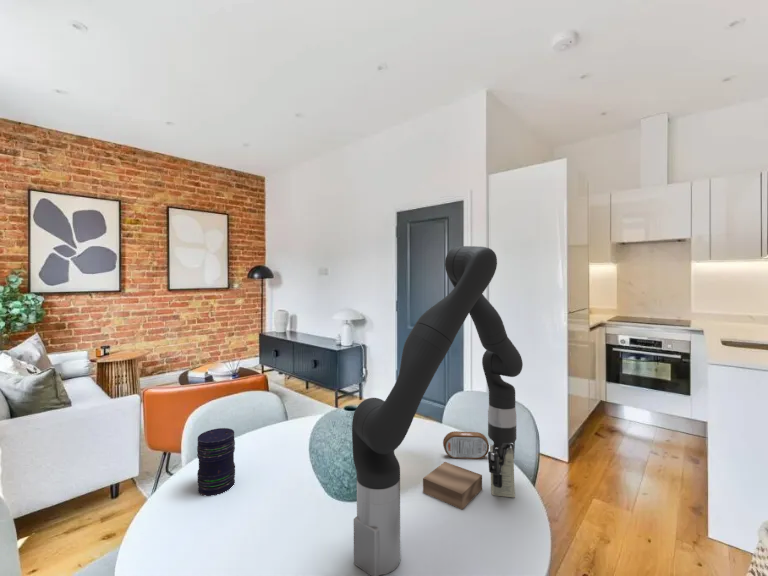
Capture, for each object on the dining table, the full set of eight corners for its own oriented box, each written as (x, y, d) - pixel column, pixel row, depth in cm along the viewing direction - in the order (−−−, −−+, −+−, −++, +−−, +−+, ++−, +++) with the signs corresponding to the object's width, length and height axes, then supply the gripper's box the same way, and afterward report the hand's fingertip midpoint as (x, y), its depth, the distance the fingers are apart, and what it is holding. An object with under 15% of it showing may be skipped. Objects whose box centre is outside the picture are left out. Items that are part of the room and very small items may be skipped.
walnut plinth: (462, 509, 92) (462, 494, 92) (423, 492, 100) (423, 478, 100) (482, 489, 101) (482, 474, 101) (444, 474, 109) (444, 461, 109)
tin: (487, 456, 121) (487, 431, 121) (490, 460, 118) (490, 435, 118) (443, 454, 122) (442, 430, 122) (443, 459, 119) (443, 434, 119)
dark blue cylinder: (202, 500, 97) (201, 445, 96) (193, 485, 104) (193, 434, 104) (240, 487, 103) (239, 435, 103) (229, 473, 111) (229, 425, 110)
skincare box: (513, 489, 101) (513, 446, 101) (515, 498, 97) (514, 453, 97) (490, 486, 103) (489, 444, 103) (490, 495, 98) (490, 450, 98)
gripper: (505, 433, 92) (505, 498, 92) (524, 417, 103) (524, 475, 103) (478, 426, 96) (478, 488, 97) (498, 411, 107) (499, 467, 108)
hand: (502, 481), depth 100 cm, fingers closed on skincare box, 5 cm apart
